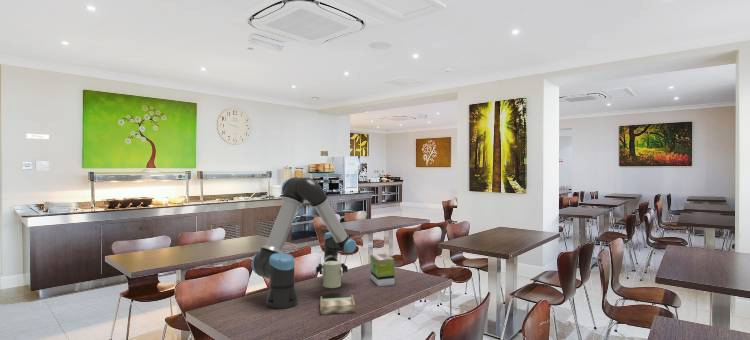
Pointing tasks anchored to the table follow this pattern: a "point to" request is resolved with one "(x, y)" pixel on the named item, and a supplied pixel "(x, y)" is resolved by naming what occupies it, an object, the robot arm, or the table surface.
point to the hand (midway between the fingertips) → (332, 273)
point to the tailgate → (336, 299)
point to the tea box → (382, 269)
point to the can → (332, 274)
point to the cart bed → (337, 306)
